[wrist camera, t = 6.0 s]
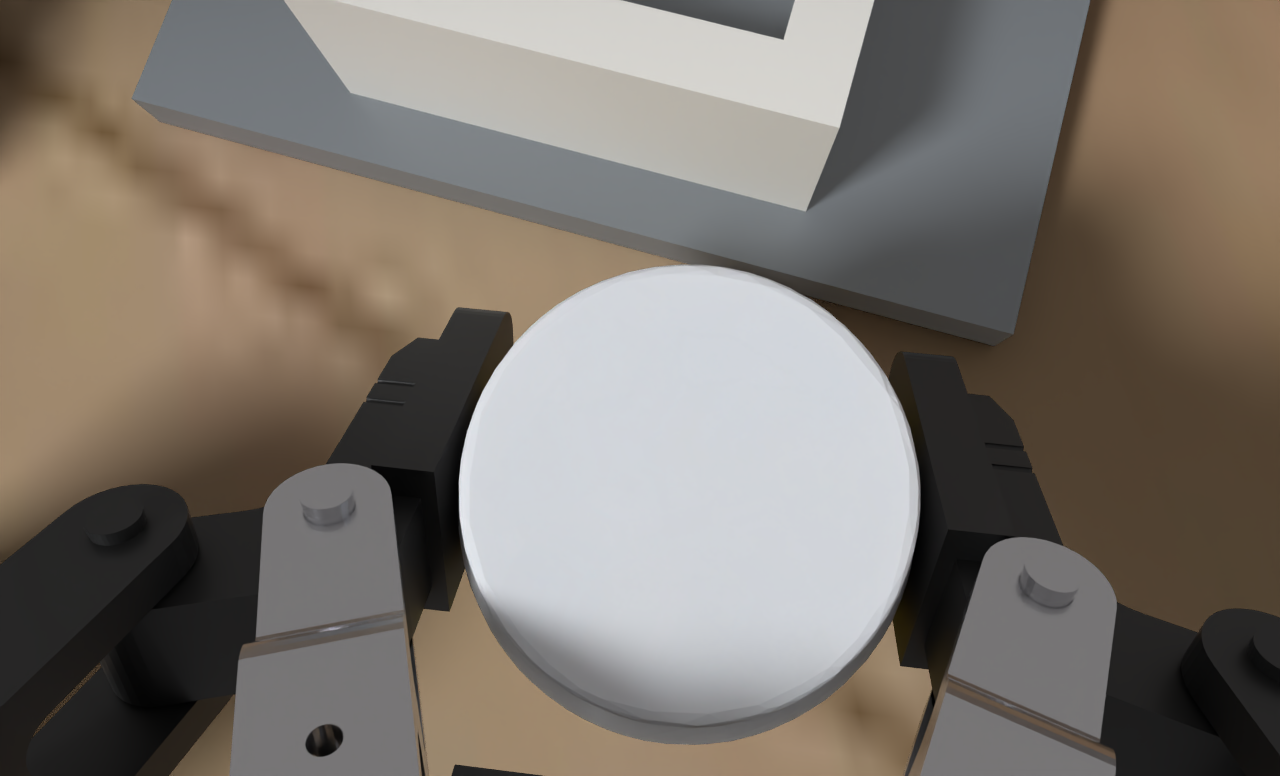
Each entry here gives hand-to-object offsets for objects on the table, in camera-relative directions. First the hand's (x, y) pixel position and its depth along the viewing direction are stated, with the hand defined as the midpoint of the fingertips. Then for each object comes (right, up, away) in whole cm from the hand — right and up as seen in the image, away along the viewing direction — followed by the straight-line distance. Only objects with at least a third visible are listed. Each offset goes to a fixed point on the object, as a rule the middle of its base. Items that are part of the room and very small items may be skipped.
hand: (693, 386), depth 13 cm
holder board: (-1, +9, +6) cm, 11 cm away
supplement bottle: (0, -3, +5) cm, 5 cm away
